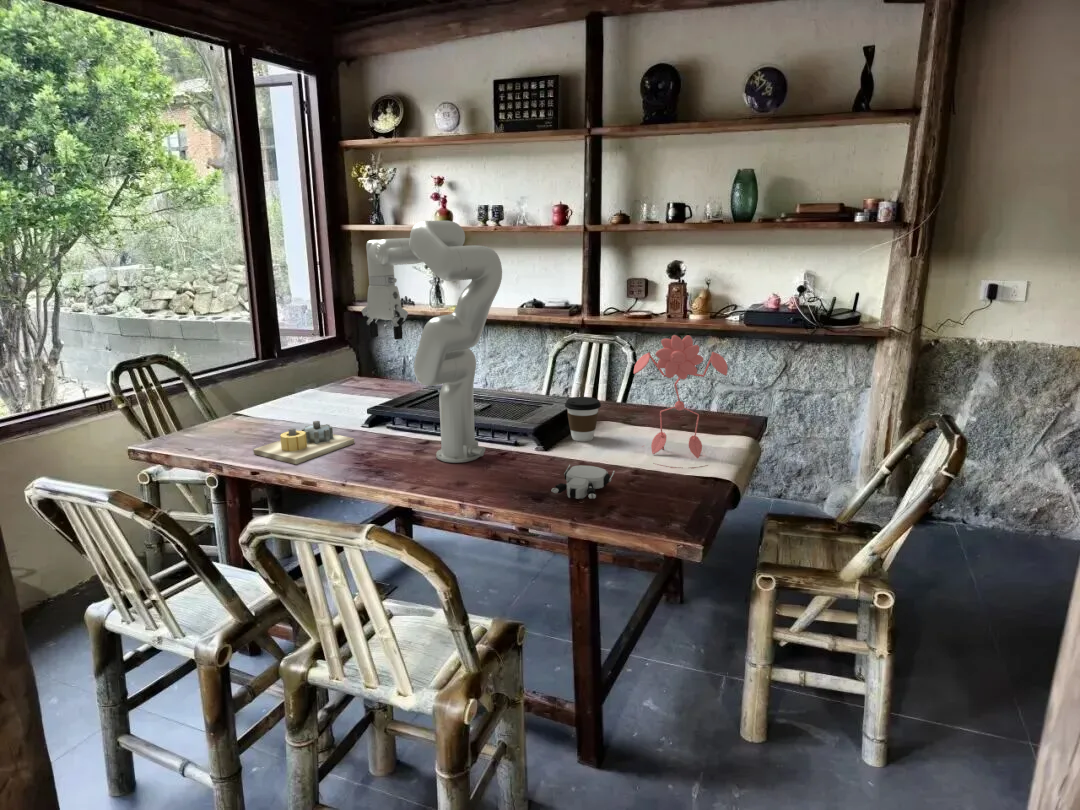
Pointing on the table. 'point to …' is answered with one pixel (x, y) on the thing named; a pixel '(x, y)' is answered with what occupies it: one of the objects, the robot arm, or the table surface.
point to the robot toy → (583, 481)
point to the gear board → (317, 444)
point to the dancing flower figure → (680, 362)
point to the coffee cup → (582, 417)
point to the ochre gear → (293, 441)
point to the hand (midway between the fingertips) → (386, 338)
